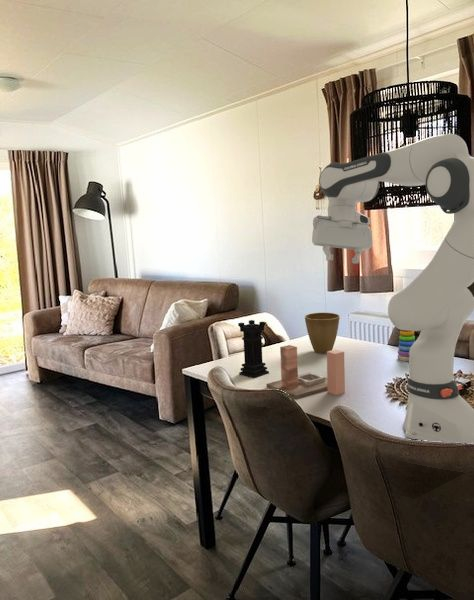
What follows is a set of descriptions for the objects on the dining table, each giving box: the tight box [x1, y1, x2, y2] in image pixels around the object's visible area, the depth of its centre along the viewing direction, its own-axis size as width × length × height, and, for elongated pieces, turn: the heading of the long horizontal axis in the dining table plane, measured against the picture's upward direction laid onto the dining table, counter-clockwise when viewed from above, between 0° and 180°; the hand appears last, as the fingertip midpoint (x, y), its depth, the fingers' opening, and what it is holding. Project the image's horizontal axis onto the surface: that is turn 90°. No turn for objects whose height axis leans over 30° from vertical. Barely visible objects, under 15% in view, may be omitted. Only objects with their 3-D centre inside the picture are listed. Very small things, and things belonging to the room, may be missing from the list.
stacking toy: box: [396, 330, 416, 362], centre depth 207 cm, size 8×8×19 cm
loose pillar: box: [326, 349, 346, 396], centre depth 173 cm, size 4×4×14 cm
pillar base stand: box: [266, 344, 328, 400], centre depth 181 cm, size 16×20×15 cm
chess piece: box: [237, 319, 270, 379], centre depth 198 cm, size 8×8×20 cm
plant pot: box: [304, 312, 341, 355], centre depth 225 cm, size 15×15×16 cm
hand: (342, 261), depth 162 cm, fingers open, 8 cm apart
